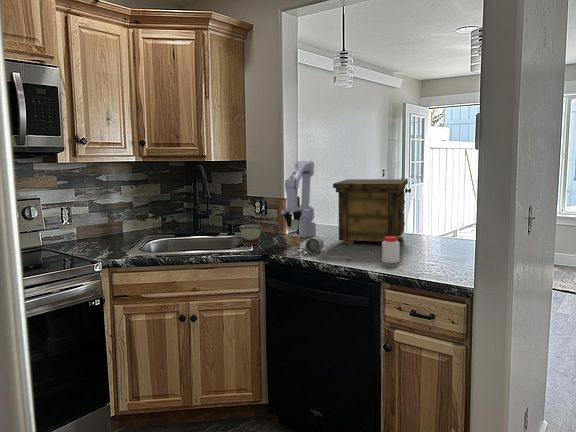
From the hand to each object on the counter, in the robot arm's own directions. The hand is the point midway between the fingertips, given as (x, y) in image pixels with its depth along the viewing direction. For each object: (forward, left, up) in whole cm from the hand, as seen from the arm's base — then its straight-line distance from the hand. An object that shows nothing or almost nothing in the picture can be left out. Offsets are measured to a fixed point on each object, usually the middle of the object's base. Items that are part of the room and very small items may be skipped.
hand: (292, 225), depth 260 cm
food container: (+15, -18, -10) cm, 26 cm away
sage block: (0, 0, -2) cm, 2 cm away
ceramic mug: (+6, +23, -10) cm, 26 cm away
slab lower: (0, 0, -10) cm, 10 cm away
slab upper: (0, 0, -8) cm, 8 cm away
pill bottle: (-8, +62, -10) cm, 63 cm away
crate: (-38, +22, -10) cm, 45 cm away
